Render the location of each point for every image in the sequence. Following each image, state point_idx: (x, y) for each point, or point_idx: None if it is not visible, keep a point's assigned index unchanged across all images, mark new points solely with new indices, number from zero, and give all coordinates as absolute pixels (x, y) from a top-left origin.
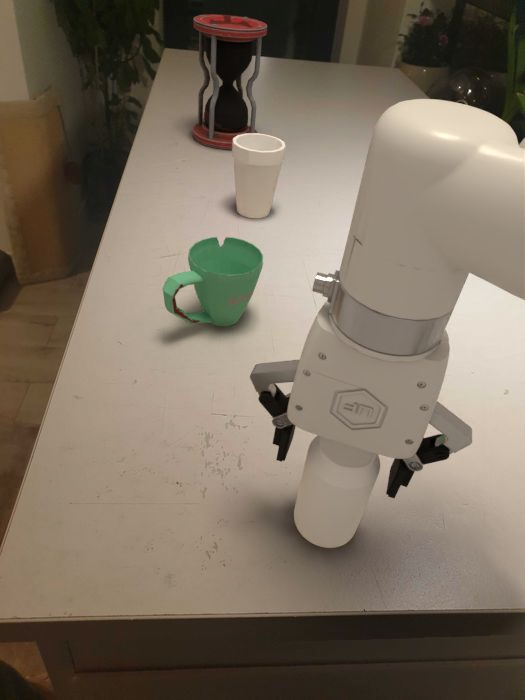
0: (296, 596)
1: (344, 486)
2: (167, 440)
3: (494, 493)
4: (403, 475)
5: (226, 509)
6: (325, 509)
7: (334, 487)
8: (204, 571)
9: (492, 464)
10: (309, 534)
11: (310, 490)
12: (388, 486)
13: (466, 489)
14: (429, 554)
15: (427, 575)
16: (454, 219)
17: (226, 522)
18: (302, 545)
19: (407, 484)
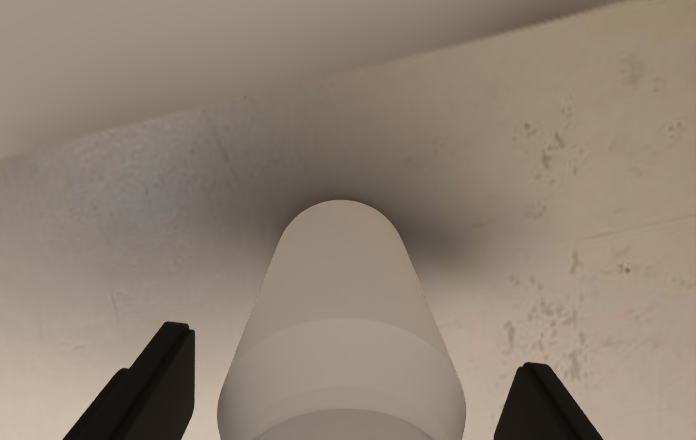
0: (380, 93)
1: (334, 324)
2: (651, 348)
3: (27, 379)
4: (95, 424)
5: (530, 238)
6: (365, 254)
7: (367, 313)
8: (565, 103)
9: (38, 432)
10: (373, 213)
11: (418, 295)
12: (186, 356)
13: (79, 376)
14: (132, 235)
15: (131, 192)
16: None
17: (528, 212)
18: (377, 199)
19: (112, 379)
